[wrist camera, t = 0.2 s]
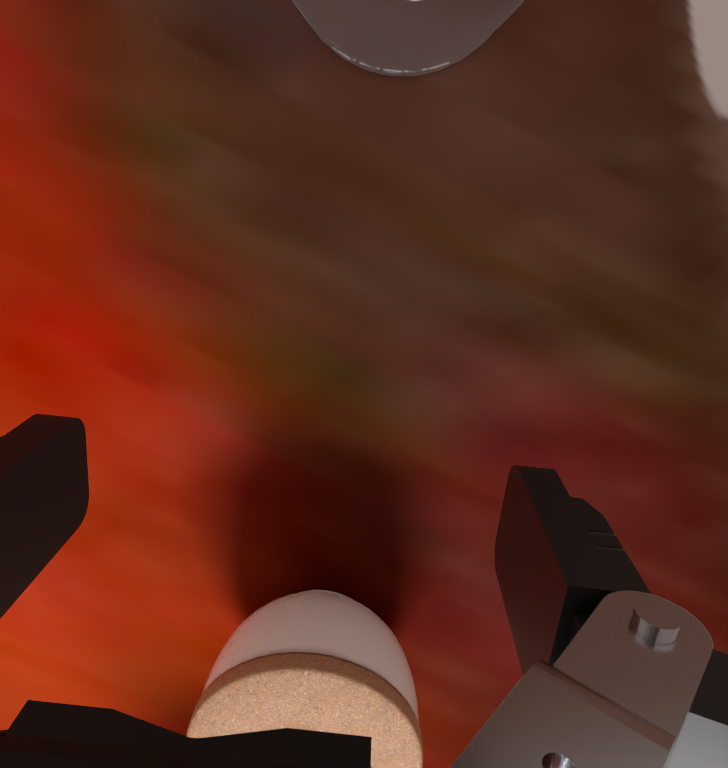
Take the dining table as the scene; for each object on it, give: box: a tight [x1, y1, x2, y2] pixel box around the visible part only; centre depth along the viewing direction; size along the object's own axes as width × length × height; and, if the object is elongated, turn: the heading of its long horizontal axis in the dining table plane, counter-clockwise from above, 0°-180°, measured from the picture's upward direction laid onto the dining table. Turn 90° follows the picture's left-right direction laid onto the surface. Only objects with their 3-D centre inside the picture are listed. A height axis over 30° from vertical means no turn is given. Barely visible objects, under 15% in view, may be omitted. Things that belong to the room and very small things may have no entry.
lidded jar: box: [186, 590, 423, 768], centre depth 31 cm, size 11×11×9 cm
